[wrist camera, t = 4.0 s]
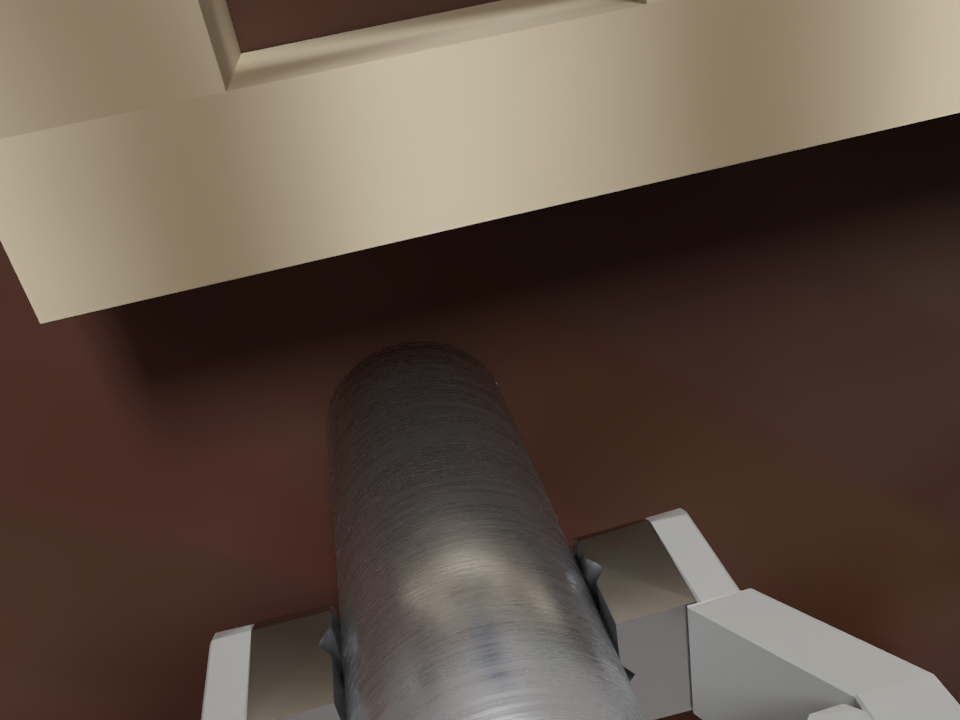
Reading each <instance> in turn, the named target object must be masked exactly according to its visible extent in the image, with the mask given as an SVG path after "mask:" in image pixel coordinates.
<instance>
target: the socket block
mask: <svg viewBox="0 0 960 720" xmlns="http://www.w3.org/2000/svg"><path fill="white" fill-rule="evenodd" d="M956 113H960V0H501V1H496V2H491V3H486V4H481V5H476V6H472V7H467V8H462V9H457V10H452V11H447V12H442V13H437V14H432V15H428V16H423V17H418V18H413V19H408V20H403V21H398V22H393V23H388V24H384V25H379V26H374V27H369V28H364V29H359V30H354V31H349V32H344V33H340V34H335V35H330V36H325V37H320V38H315V39H310V40H305V41H300V42H296V43H291V44H286V45H281V46H276V47H271V48H266V49H261V50H256V51H252V52H247V53H242V54H241V52H240V48H239V45H238V41H237V38H236V35H235V31H234V28H233V24H232V21H231V18H230V14H229V11H228V7H227V4H226V0H0V241H1V243H2V245H3V247H4V249H5V251H6V253H7V255H8V257H9V259H10V261H11V264H12V266H13V268H14V270H15V272H16V274H17V276H18V278H19V280H20V282H21V284H22V286H23V289H24V291H25V293H26V295H27V297H28V299H29V301H30V303H31V305H32V307H33V309H34V311H35V314H36V316H37V318H38V320H39V322H40V324H41V323H46V322H50V321H54V320H59V319H63V318H67V317H72V316H76V315H81V314H85V313H89V312H94V311H98V310H102V309H107V308H111V307H115V306H120V305H124V304H128V303H133V302H137V301H142V300H146V299H150V298H155V297H159V296H163V295H168V294H172V293H176V292H181V291H185V290H189V289H194V288H198V287H202V286H207V285H211V284H216V283H220V282H224V281H229V280H233V279H237V278H242V277H246V276H250V275H255V274H259V273H263V272H268V271H272V270H277V269H281V268H285V267H290V266H294V265H298V264H303V263H307V262H311V261H316V260H320V259H324V258H329V257H333V256H337V255H342V254H346V253H351V252H355V251H359V250H364V249H368V248H372V247H377V246H381V245H385V244H390V243H394V242H398V241H403V240H407V239H411V238H416V237H420V236H425V235H429V234H433V233H438V232H442V231H446V230H451V229H455V228H459V227H464V226H468V225H472V224H477V223H481V222H486V221H490V220H494V219H499V218H503V217H507V216H512V215H516V214H520V213H525V212H529V211H533V210H538V209H542V208H546V207H551V206H555V205H560V204H564V203H568V202H573V201H577V200H581V199H586V198H590V197H594V196H599V195H603V194H607V193H612V192H616V191H621V190H625V189H629V188H634V187H638V186H642V185H647V184H651V183H655V182H660V181H664V180H668V179H673V178H677V177H681V176H686V175H690V174H695V173H699V172H703V171H708V170H712V169H716V168H721V167H725V166H729V165H734V164H738V163H742V162H747V161H751V160H756V159H760V158H764V157H769V156H773V155H777V154H782V153H786V152H790V151H795V150H799V149H803V148H808V147H812V146H816V145H821V144H825V143H830V142H834V141H838V140H843V139H847V138H851V137H856V136H860V135H864V134H869V133H873V132H877V131H882V130H886V129H891V128H895V127H899V126H904V125H908V124H912V123H917V122H921V121H925V120H930V119H934V118H938V117H943V116H947V115H951V114H956Z"/></svg>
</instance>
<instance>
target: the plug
mask: <svg viewBox="0 0 960 720" xmlns="http://www.w3.org/2000/svg"><path fill="white" fill-rule="evenodd" d="M327 436H328V451H329V465H330V480H331V495H332V510H333V525H334V539H335V554H336V569H337V584H338V598H339V613H340V628H341V643H342V657H343V672H344V687H345V702H346V716H347V720H647V719H646V717H645V715H644V713H643V710H642V708H641V706H640V704H639V701H638V699H637V697H636V695H635V692H634V690H633V688H632V686H631V683H630V681H629V679H628V677H627V674H626V672H625V670H624V668H623V665H622V663H621V661H620V659H619V656H618V654H617V652H616V650H615V647H614V645H613V643H612V641H611V638H610V636H609V634H608V632H607V629H606V627H605V625H604V623H603V620H602V618H601V616H600V614H599V611H598V609H597V607H596V605H595V602H594V600H593V598H592V596H591V593H590V591H589V589H588V587H587V584H586V582H585V580H584V577H583V575H582V573H581V571H580V568H579V566H578V564H577V562H576V559H575V557H574V555H573V553H572V550H571V548H570V546H569V544H568V541H567V539H566V537H565V535H564V532H563V530H562V528H561V526H560V523H559V521H558V519H557V517H556V514H555V512H554V510H553V508H552V505H551V503H550V501H549V499H548V496H547V494H546V492H545V490H544V487H543V485H542V483H541V481H540V478H539V476H538V474H537V472H536V469H535V467H534V465H533V463H532V460H531V458H530V456H529V454H528V451H527V449H526V447H525V445H524V442H523V440H522V438H521V436H520V433H519V431H518V429H517V427H516V424H515V422H514V420H513V418H512V415H511V413H510V411H509V409H508V406H507V404H506V402H505V400H504V397H503V395H502V393H501V391H500V388H499V386H498V384H497V382H496V380H495V378H494V377H493V375H492V374H491V372H490V371H489V370H488V369H487V368H486V367H485V366H484V365H483V364H482V363H481V362H480V361H479V360H478V359H476V358H475V357H473V356H472V355H470V354H469V353H467V352H465V351H462V350H460V349H458V348H455V347H452V346H449V345H446V344H440V343H434V342H412V343H406V344H400V345H396V346H393V347H389V348H386V349H384V350H382V351H379V352H377V353H375V354H373V355H372V356H370V357H368V358H366V359H365V360H363V361H362V362H361V363H359V364H358V365H357V366H356V367H354V368H353V369H352V370H351V371H350V372H349V373H348V374H347V375H346V377H345V378H344V379H343V381H342V382H341V383H340V385H339V386H338V388H337V390H336V391H335V393H334V395H333V398H332V400H331V403H330V406H329V410H328V415H327Z"/></svg>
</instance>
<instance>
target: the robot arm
mask: <svg viewBox="0 0 960 720" xmlns="http://www.w3.org/2000/svg"><path fill="white" fill-rule="evenodd" d="M573 551H574V557H575V559H576V562H577V564H578V566H579V568H580V571H581V573H582V575H583V577H584V580H585V582H586V584H587V587H588V589H589V591H590V593H591V596H592V598H593V600H594V602H595V605H596V607H597V609H598V611H599V614H600V616H601V618H602V620H603V623H604V625H605V627H606V629H607V632H608V634H609V636H610V638H611V641H612V643H613V645H614V647H615V650H616V652H617V654H618V656H619V659H620V661H621V663H622V665H623V668H624V670H625V672H626V674H627V677H628V679H629V681H630V683H631V686H632V688H633V690H634V692H635V695H636V697H637V699H638V701H639V704H640V706H641V708H642V710H643V713H644V715H645V717H646V719H647V720H655V719H659V718H663V717H667V716H670V715H674V714H678V713H682V712H686V711H690V710H693V713H694V714H695V715H697V716H698V717H699V718H701V719H702V720H960V705H959V704H958V702H957V701H956V700H955V699H954V698H953V697H952V695H951V694H950V693H949V692H948V691H947V689H946V688H945V687H944V686H943V685H942V684H941V682H940V681H939V680H938V679H937V678H936V677H935V675H934V674H932V673H930V672H927V671H925V670H923V669H921V668H919V667H917V666H915V665H913V664H911V663H908V662H906V661H904V660H902V659H900V658H898V657H896V656H894V655H891V654H889V653H887V652H885V651H883V650H881V649H879V648H877V647H875V646H872V645H870V644H868V643H866V642H864V641H862V640H860V639H858V638H855V637H853V636H851V635H849V634H847V633H845V632H843V631H841V630H839V629H836V628H834V627H832V626H830V625H828V624H826V623H824V622H822V621H820V620H817V619H815V618H813V617H811V616H809V615H807V614H805V613H803V612H800V611H798V610H796V609H794V608H792V607H790V606H788V605H786V604H784V603H781V602H779V601H777V600H775V599H773V598H771V597H769V596H767V595H764V594H762V593H760V592H758V591H756V590H754V589H752V588H750V589H746V590H742V591H740V590H739V588H738V587H737V585H736V584H735V583H734V581H733V580H732V578H731V577H730V575H729V574H728V572H727V571H726V569H725V568H724V566H723V565H722V563H721V562H720V560H719V559H718V557H717V556H716V555H715V553H714V552H713V550H712V549H711V547H710V546H709V544H708V543H707V541H706V540H705V538H704V537H703V535H702V534H701V532H700V531H699V529H698V528H697V527H696V525H695V524H694V522H693V521H692V519H691V518H690V516H689V515H688V513H687V512H686V511H684V510H683V509H681V508H679V509H675V510H672V511H668V512H665V513H661V514H658V515H654V516H651V517H647V518H645V520H638V521H635V522H631V523H628V524H624V525H620V526H617V527H613V528H610V529H606V530H602V531H599V532H595V533H592V534H588V535H584V536H581V537H577V538H574V539H573ZM201 720H347V716H346V702H345V687H344V672H343V657H342V643H341V628H340V621H339V618H338V615H337V613H336V610H335V608H334V606H333V605H331V604H329V605H325V606H321V607H317V608H313V609H309V610H305V611H301V612H297V613H292V614H288V615H284V616H280V617H276V618H272V619H268V620H264V621H260V622H256V623H255V624H252V625H247V626H243V627H239V628H235V629H231V630H226V631H222V632H218V633H215V635H214V637H213V639H212V641H211V643H210V648H209V656H208V665H207V674H206V682H205V691H204V699H203V707H202V716H201Z"/></svg>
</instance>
